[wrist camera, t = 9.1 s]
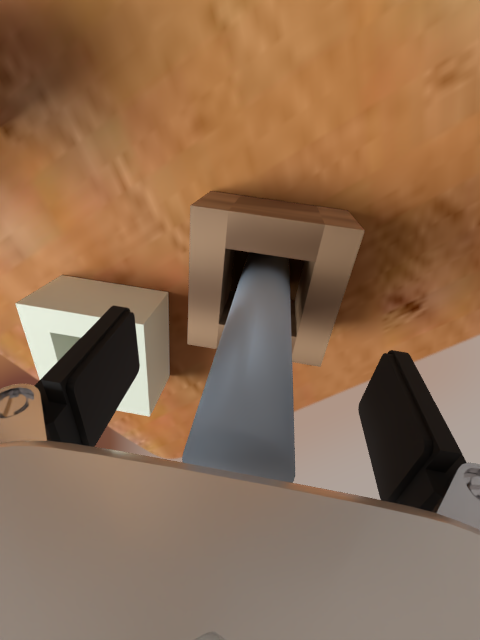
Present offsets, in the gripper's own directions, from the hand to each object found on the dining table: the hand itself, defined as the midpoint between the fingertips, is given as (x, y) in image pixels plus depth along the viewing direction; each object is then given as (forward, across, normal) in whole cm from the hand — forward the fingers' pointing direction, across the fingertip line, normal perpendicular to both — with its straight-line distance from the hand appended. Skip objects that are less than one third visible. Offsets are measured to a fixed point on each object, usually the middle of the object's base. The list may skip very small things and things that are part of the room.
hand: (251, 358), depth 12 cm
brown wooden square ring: (+12, 0, +1) cm, 12 cm away
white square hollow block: (+12, +12, +9) cm, 19 cm away
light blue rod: (+12, 0, +1) cm, 12 cm away
